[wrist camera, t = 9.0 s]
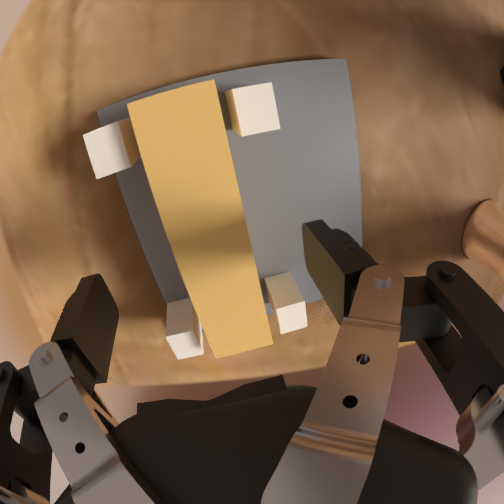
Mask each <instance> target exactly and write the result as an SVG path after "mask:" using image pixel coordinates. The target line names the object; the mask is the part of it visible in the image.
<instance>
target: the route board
mask: <svg viewBox="0 0 504 504" xmlns="http://www.w3.org/2000/svg"><path fill="white" fill-rule="evenodd" d="M213 79H214V80H215V85H216V89H217V94H218V98H219V103H220V107H221V112H222V116H223V121H224V125H225V130H226V134H227V139H228V143H229V147H230V152H231V156H232V161H233V165H234V170H235V174H236V179H237V183H238V188H239V192H240V197H241V201H242V206H243V210H244V215H245V219H246V224H247V228H248V233H249V237H250V242H251V246H252V251H253V255H254V260H255V264H256V269H257V273H258V278H259V282H260V287H261V291H262V296H263V300H264V305H265V309H266V314H267V315H269V314H274V317H275V319H276V322H277V325H278V327H279V330H280V333H281V334H284V333H287V332H291V331H294V330H297V329H301V328H304V327H307V317H306V307H305V304H307V303H311V302H314V301H317V300H321V299H324V298H323V296H322V294H321V293H320V291H319V289H318V288H317V286H316V284H315V283H314V281H313V279H312V278H311V276H310V275H309V273H308V270H307V267H306V264H305V258H304V247H303V236H302V224H303V223H306V222H310V221H314V220H319V219H322V220H323V221H324V222H325V223H326V224H327V225H328V226H329V227H330V228H331V229H336V228H338V229H340V230H342V231H344V232H347V233H348V234H349V235H350V236H351V237H352V238H353V239H354V240H355V242H357V243H358V244H359V245H360V247H362V201H361V180H360V165H359V152H358V141H357V131H356V122H355V113H354V105H353V98H352V91H351V84H350V77H349V71H348V65H347V60H346V58H341V59H319V60H305V61H294V62H285V63H276V64H269V65H261V66H255V67H249V68H243V69H237V70H232V71H226V72H221V73H217V74H212V75H207V76H203V77H199V78H195V79H191V80H187V81H183V82H179V83H175V84H172V85H168V86H165V87H161V88H158V89H155V90H151V91H148V92H145V93H142V94H139V95H136V96H133V97H130V98H127V99H124V100H122V101H119V102H116V103H113V104H111V105H108V106H106V107H103V108H100V109H98V110H97V114H98V118H99V122H100V125H101V128H98V129H96V130H93V131H91V132H89V133H86V134H84V135H83V138H84V141H85V144H86V148H87V151H88V154H89V157H90V161H91V164H92V167H93V170H94V173H95V176H96V179H99V178H102V177H104V176H107V175H110V174H113V173H115V175H116V178H117V181H118V184H119V187H120V190H121V193H122V196H123V199H124V201H125V204H126V207H127V210H128V213H129V215H130V218H131V221H132V223H133V226H134V229H135V231H136V234H137V236H138V239H139V241H140V244H141V247H142V249H143V252H144V254H145V256H146V259H147V261H148V264H149V266H150V268H151V271H152V273H153V276H154V278H155V280H156V282H157V285H158V287H159V289H160V292H161V294H162V296H163V298H164V300H165V303H166V305H167V318H166V336H165V337H166V339H167V341H168V342H169V344H170V346H171V348H172V350H173V352H174V353H175V355H176V357H177V359H178V360H179V359H184V358H188V357H193V356H197V355H202V354H204V350H203V339H202V332H203V331H204V330H203V328H202V325H201V323H200V321H199V318H198V316H197V313H196V311H195V308H194V306H193V304H192V301H191V299H190V296H189V293H188V291H187V288H186V286H185V283H184V281H183V278H182V275H181V273H180V270H179V268H178V265H177V262H176V260H175V257H174V254H173V251H172V249H171V246H170V243H169V240H168V237H167V235H166V232H165V229H164V226H163V223H162V220H161V217H160V214H159V211H158V208H157V205H156V202H155V199H154V196H153V193H152V190H151V187H150V184H149V180H148V177H147V174H146V171H145V168H144V164H143V161H142V158H141V154H140V151H139V147H138V144H137V140H136V137H135V133H134V129H133V126H132V122H131V118H130V115H129V111H128V107H127V104H128V103H131V102H134V101H137V100H140V99H143V98H146V97H149V96H152V95H156V94H159V93H162V92H166V91H169V90H173V89H176V88H180V87H184V86H188V85H192V84H196V83H200V82H204V81H208V80H213Z"/></svg>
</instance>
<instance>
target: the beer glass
mask: <svg viewBox="0 0 504 504" xmlns="http://www.w3.org/2000/svg"><path fill="white" fill-rule="evenodd" d="M462 244H463V251H464V253H465V255H466V256H467V257H468V258H470V259H472V260H474V261H476V262H478V263H480V264H482V265H484V266H485V267H487V268H489V269H490V270H491V271H492V272H494V273H495V274H496V275H497V276H498V277H499V278H500V280H501V281H502V282H503V283H504V209H503V208H502V207H501V206H500V205H499V204H498V203H497V202H495V201H493V200H486V201H484V202H482V203H481V204H479V205H478V206H477V207H476V209H475V210H474V211H473V213H472V214H471V216H470V218H469V220H468V222H467V224H466V227H465V230H464V234H463V242H462Z"/></svg>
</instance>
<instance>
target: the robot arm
mask: <svg viewBox="0 0 504 504" xmlns="http://www.w3.org/2000/svg"><path fill="white" fill-rule="evenodd" d="M302 236H303V247H304V258H305V264H306V267H307V270H308V273H309V275H310V276H311V278H312V279H313V281H314V283H315V284H316V286H317V288H318V289H319V291H320V293H321V294H322V296H323V298H324V299H325V301H326V303H327V305H328V306H329V308H330V310H331V311H332V313H333V315H334V316H335V318H336V320H337V322H338V323H339V325H340V329H339V332H338V335H337V338H336V340H335V343H334V346H333V349H332V351H331V354H330V357H329V359H328V362H327V365H326V367H325V370H324V372H323V375H322V378H321V380H320V382H319V385H318V388H315V387H311V386H305V385H286V384H285V381H284V378H283V375H280V376H276V377H272V378H268V379H264V380H261V381H257V382H252V383H248V384H245V385H243V386H240V387H238V388H236V389H234V390H232V391H230V392H227V393H225V394H223V395H220V396H218V397H216V398H214V399H211V400H207V401H196V400H180V399H166V400H160V401H152V402H144V403H138V404H137V414H136V415H134V416H132V417H130V418H128V419H126V420H124V421H123V422H121V423H120V424H119V423H118V422H117V420H116V419H115V417H114V416H113V415H112V413H111V412H110V410H109V409H108V408H107V406H106V405H105V403H104V402H103V400H102V399H101V397H100V396H99V394H98V393H97V392H96V391H95V390H94V386H95V384H98V383H107V377H108V371H109V365H110V360H111V354H112V349H113V344H114V339H115V334H116V329H117V324H118V320H119V312H118V308H117V305H116V303H115V301H114V299H113V297H112V295H111V293H110V291H109V289H108V287H107V285H106V283H105V281H104V279H103V278H102V276H101V275H100V274H94V275H91V276H87V277H83V278H81V280H80V282H79V284H78V287H77V289H76V291H75V292H74V293H73V294H72V296H71V297H70V298H69V299H68V300H67V302H66V304H65V306H64V309H63V312H62V313H61V316H60V319H59V320H58V323H57V325H56V328H55V330H54V333H53V335H52V338H51V341H50V342H47V343H44V344H42V345H41V346H39V347H38V348H37V349H36V350H35V351H34V352H33V354H32V355H31V357H30V360H29V365H28V366H26V367H24V368H21V369H19V370H17V369H16V368H15V367H14V365H13V364H12V363H11V362H8V361H5V362H2V363H0V504H50V476H51V462H52V451H53V452H54V454H55V456H56V458H57V460H58V462H59V464H60V466H61V468H62V470H63V472H64V474H65V476H66V477H67V479H68V481H69V483H70V484H69V485H68V487H67V488H66V489H65V490H64V492H63V493H62V494H61V496H60V497H59V498H58V500H57V501H56V502H55V503H54V504H477V495H478V490H479V489H481V488H482V487H484V486H485V485H486V484H488V483H489V482H491V481H492V480H493V479H495V478H496V477H497V476H499V475H500V474H501V473H503V472H504V312H503V310H502V309H500V307H499V306H498V305H497V304H496V303H495V302H494V301H493V300H492V298H491V297H490V296H489V295H488V294H487V293H486V292H485V291H484V290H483V289H482V288H481V287H480V286H479V285H478V284H477V283H476V282H475V281H474V280H473V279H472V278H471V277H470V276H469V275H468V274H467V273H466V272H465V271H464V270H463V269H462V268H461V267H460V266H458V265H456V264H454V263H452V262H448V261H436V262H433V263H431V264H430V265H429V266H428V268H427V272H426V276H419V277H404V276H403V274H402V273H401V272H400V271H399V270H397V269H396V268H393V267H391V266H386V265H378V264H377V263H376V262H375V261H374V260H373V258H372V257H371V256H370V255H369V254H368V253H367V252H366V251H365V250H364V249H363V248H362V247H360V245H359V244H358V243H357V242H355V240H354V239H353V238H352V237H351V236H350V235H349V234H348V233H347V232H344V231H342V230H340V229H338V228H336V229H331V228H330V227H329V226H328V225H327V224H326V223H325V222H324V221H323V220H322V219H319V220H314V221H310V222H306V223H303V224H302ZM452 323H453V324H454V326H455V327H456V328H457V330H458V331H459V332H460V334H461V336H462V338H461V336H460V335H459V334H458V332H457V331H456V330H455V328H454V327H453V326H452V325H451V324H452ZM407 341H415V342H416V343H417V345H418V346H419V348H420V349H421V351H422V353H423V354H424V356H425V357H426V359H427V360H428V362H429V364H430V365H431V367H432V369H433V370H434V372H435V373H436V375H437V377H438V378H439V380H440V382H441V383H442V385H443V387H444V388H445V390H446V392H447V394H448V395H449V397H450V399H451V401H452V402H453V404H454V406H455V408H456V409H457V411H458V413H459V415H460V417H459V419H458V421H457V424H456V434H457V437H458V443H459V452H458V451H457V450H455V449H453V448H450V447H448V446H445V445H443V444H440V443H438V442H435V441H433V440H430V439H428V438H426V437H423V436H421V435H418V434H416V433H414V432H411V431H409V430H407V429H405V428H402V427H400V426H398V425H396V424H394V423H391V422H389V421H386V420H385V419H383V418H384V414H385V410H386V406H387V402H388V397H389V393H390V388H391V383H392V379H393V374H394V368H395V363H396V357H397V351H398V345H399V342H407ZM14 411H15V412H16V413H17V414H18V415H19V416H21V417H22V418H23V419H24V422H23V427H22V432H21V438H20V444H18V443H17V442H16V441H15V440H14V439H13V438H12V436H11V432H10V425H11V421H12V416H13V412H14Z"/></svg>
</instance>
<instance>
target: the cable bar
mask: <svg viewBox="0 0 504 504" xmlns="http://www.w3.org/2000/svg"><path fill="white" fill-rule="evenodd" d="M127 107H128V111H129V115H130V118H131V122H132V126H133V129H134V133H135V137H136V140H137V144H138V147H139V151H140V154H141V158H142V161H143V164H144V168H145V171H146V174H147V177H148V180H149V184H150V187H151V190H152V193H153V196H154V199H155V202H156V205H157V208H158V211H159V214H160V217H161V220H162V223H163V226H164V229H165V232H166V235H167V237H168V240H169V243H170V246H171V249H172V251H173V254H174V257H175V260H176V262H177V265H178V268H179V270H180V273H181V275H182V278H183V281H184V283H185V286H186V288H187V291H188V293H189V296H190V299H191V301H192V304H193V306H194V308H195V311H196V313H197V316H198V318H199V321H200V323H201V325H202V328H203V330H204V333H205V335H206V337H207V340H208V342H209V344H210V346H211V349H212V351H213V353H214V356H215V358H221V357H225V356H229V355H233V354H237V353H241V352H245V351H249V350H253V349H256V348H260V347H264V346H267V345H271V344H273V341H272V336H271V332H270V327H269V323H268V318H267V314H266V309H265V305H264V300H263V296H262V291H261V287H260V282H259V278H258V273H257V269H256V264H255V260H254V255H253V251H252V246H251V242H250V237H249V233H248V228H247V224H246V219H245V215H244V210H243V206H242V201H241V197H240V192H239V188H238V183H237V179H236V174H235V170H234V165H233V161H232V156H231V152H230V147H229V143H228V139H227V134H226V130H225V125H224V121H223V116H222V112H221V107H220V103H219V98H218V94H217V89H216V85H215V80H214V79H213V80H208V81H204V82H200V83H196V84H192V85H188V86H184V87H180V88H176V89H173V90H169V91H166V92H162V93H159V94H156V95H152V96H149V97H146V98H143V99H140V100H137V101H134V102H131V103H128V104H127Z"/></svg>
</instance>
